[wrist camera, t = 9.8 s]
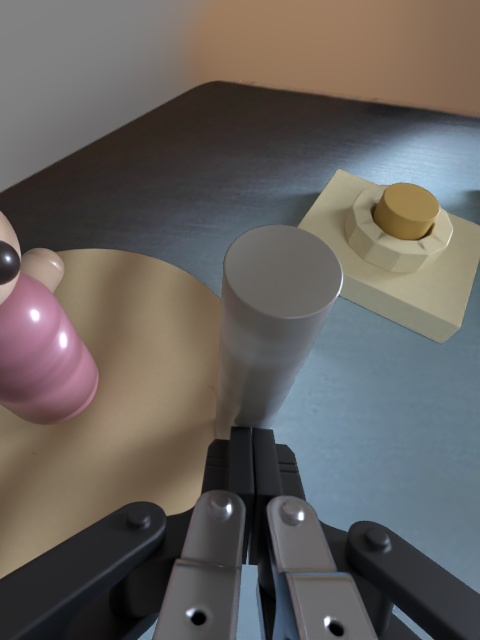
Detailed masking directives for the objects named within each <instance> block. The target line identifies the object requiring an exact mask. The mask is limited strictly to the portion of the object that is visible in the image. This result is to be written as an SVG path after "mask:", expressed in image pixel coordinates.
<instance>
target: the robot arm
mask: <svg viewBox="0 0 480 640" xmlns="http://www.w3.org/2000/svg"><path fill="white" fill-rule="evenodd" d="M247 550H248V556H249V565H258V579H257V587H256V597H257V605H258V614H259V622H260V631H261V639H262V640H422V639H420V638H419V637H418V636H417V635H416V634H415V633H414V632H413V631H412V630H411V629H409V628H408V627H407V626H406V625H405V624H404V623H403V622H402V621H401V620H399V619H398V618H397V617H396V616H395V615H394V614H393V613H392V610H393V606H394V604H395V605H396V606H397V607H398V608H399V609H400V610H402V611H403V612H404V613H405V614H406V615H407V616H408V617H409V618H411V619H412V620H413V621H414V622H415V623H416V624H417V625H419V626H420V627H421V628H422V629H423V630H424V631H425V632H426V633H428V634H429V635H430V636H431V637H432V638H433V639H434V640H480V594H478V593H477V592H476V591H474V590H473V589H472V588H470V587H469V586H467V585H466V584H465V583H463V582H462V581H460V580H459V579H458V578H456V577H455V576H454V575H452V574H451V573H449V572H448V571H447V570H445V569H444V568H442V567H441V566H440V565H438V564H437V563H436V562H434V561H433V560H431V559H430V558H429V557H427V556H426V555H424V554H423V553H422V552H420V551H419V550H418V549H416V548H415V547H413V546H412V545H411V544H409V543H408V542H406V541H405V540H404V539H402V538H401V537H400V536H398V535H397V534H395V533H394V532H393V531H391V530H390V529H388V528H387V527H385V526H383V525H381V524H378V523H375V522H371V521H359V522H356V523H354V524H353V525H351V527H350V528H349V531H348V532H346V531H343V530H340V529H337V528H334V527H331V526H329V525H327V524H325V523H323V522H321V521H320V520H319V519H318V516H317V514H316V512H315V510H314V508H313V507H312V506H311V505H310V504H309V503H307V502H306V499H305V494H304V490H303V486H302V482H301V478H300V474H299V470H298V466H297V462H296V458H295V454H294V453H293V452H292V451H291V449H290V448H289V447H288V446H287V445H282V444H275V440H274V434H273V430H272V429H261V428H253V429H252V434H251V428H249V427H238V426H231V430H230V440H225V439H214V441H213V442H212V443H211V444H210V445H209V446H208V450H207V457H206V463H205V470H204V476H203V483H202V489H201V495H200V497H199V498H198V499H197V501H196V503H195V505H194V506H193V507H192V508H191V509H189V510H187V511H185V512H182V513H179V514H174V515H168V516H166V514H165V512H164V510H163V509H162V508H161V507H160V506H158V505H157V504H155V503H152V502H147V501H138V502H132V503H129V504H126V505H124V506H122V507H121V508H119V509H117V510H116V511H114V512H112V513H110V514H109V515H107V516H105V517H104V518H102V519H100V520H99V521H97V522H95V523H94V524H92V525H90V526H89V527H87V528H85V529H84V530H82V531H80V532H78V533H77V534H75V535H73V536H72V537H70V538H68V539H67V540H65V541H63V542H62V543H60V544H58V545H57V546H55V547H53V548H51V549H50V550H48V551H46V552H45V553H43V554H41V555H40V556H38V557H36V558H35V559H33V560H31V561H30V562H28V563H26V564H24V565H23V566H21V567H19V568H18V569H16V570H14V571H13V572H11V573H9V574H8V575H6V576H4V577H3V578H1V579H0V640H137V639H138V638H139V637H140V636H141V635H142V634H143V633H144V632H146V631H147V630H148V629H149V628H150V627H151V626H152V625H153V624H154V622H155V621H156V620H157V618H158V616H159V618H158V621H157V624H156V628H155V631H154V635H153V638H152V640H236V633H237V621H238V608H239V596H240V583H241V570H242V564H246V558H247ZM159 613H160V614H159Z"/></svg>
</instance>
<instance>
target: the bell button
mask: <svg viewBox="0 0 480 640" xmlns="http://www.w3.org/2000/svg"><path fill="white" fill-rule="evenodd" d="M439 212H440V205H439V202H438V200H437V199H436V198H435V196H434V195H433V194H432V193H430V192H429V191H428V190H426V189H424V188H422V187H420V186H417V185H414V184H410V183H396V184H392V185H390V186H389V187H387V188H386V189H385V191H384V193H383V195H382V197H381V199H380V201H379V203H378V205H377V207H376V209H375V211H374V214H373V218H374V222H375V224H376V225H377V226H378V227H379V228H380V229H381V230H382V231H383V232H384V233H386V234H388V235H390V236H393V237H395V238H397V239H400V240H409V241H414V240H417V239H419V238H421V237H423V236H424V235H425V233H426V232H427V231H428V229H429V228H430V226H431V225H432V223H433V222H434V220H435V219H436V218H437V216H438V214H439Z"/></svg>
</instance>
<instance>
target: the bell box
mask: <svg viewBox="0 0 480 640" xmlns="http://www.w3.org/2000/svg"><path fill="white" fill-rule="evenodd" d="M389 186H390V185H378V184H375V183H373V182H370V181H368V180H365V179H363V178H360V177H358V176H355V175H353V174H350V173H348V172H345V171H343V170H340V169H337V171H336V172H335V173H334V175H333V176H332V178H331V179H330V181H329V182H328V183H327V185H326V186H325V188H324V189H323V191H322V192H321V193H320V195H319V196H318V198H317V199H316V201H315V202H314V204H313V205H312V206H311V208H310V209H309V211H308V212H307V214H306V215H305V216H304V218H303V219H302V221H301V222H300V224H299V225H298V226H297V228H300V229H303V230H306V231H308V232H310V233H312V234H314V235H316V236H317V237H319V238H320V239H322V240H323V241H324V242H325V243H326V244H327V245H329V247H330V248H331V249H332V250H333V251H334V253H335V254H336V256H337V257H338V259H339V261H340V264H341V267H342V273H343V284H342V288H341V291H340V294H339V296H341V297H343V298H345V299H348V300H350V301H352V302H354V303H356V304H358V305H360V306H362V307H364V308H366V309H369V310H371V311H373V312H375V313H377V314H379V315H381V316H383V317H385V318H387V319H389V320H392V321H394V322H396V323H398V324H400V325H402V326H404V327H406V328H408V329H410V330H413V331H415V332H417V333H419V334H421V335H423V336H425V337H427V338H429V339H431V340H433V341H436V342H438V343H440V344H443V343H444V342H445V341H446V340H447V339H448V338H449V337H451V336H452V335H453V334H454V333H455V332H456V331H458V330H459V329H460V328H461V325H462V322H463V318H464V314H465V311H466V307H467V303H468V300H469V296H470V293H471V289H472V285H473V282H474V278H475V274H476V271H477V267H478V263H479V260H480V225H478V224H475V223H473V222H470V221H468V220H465V219H463V218H460V217H458V216H455V215H453V214H450V213H448V212H446V211H445V210H444V209H443V208H441V207H440V212H439V214H438V216H437V218H436V219H435V220H434V222H433V223H432V225H431V226H430V228H429V229H428V231H427V232H426V233H425V235H424V236H423V237H421V238H419V239H417V240H414V241H409V240H400V239H397V238H395V237H393V236H390V235H388V234H386V233H384V232H383V231H382V230H381V229H380V228H379V227H378V226H377V225H376V224H375V222H374V218H373V214H374V211H375V209H376V207H377V205H378V203H379V201H380V199H381V197H382V195H383V193H384V191H385V189H386V188H387V187H389Z"/></svg>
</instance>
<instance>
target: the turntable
mask: <svg viewBox="0 0 480 640" xmlns="http://www.w3.org/2000/svg"><path fill="white" fill-rule="evenodd" d="M342 284H343V273H342V267H341V264H340V261H339V259H338V257H337V256H336V254H335V253H334V251H333V250H332V249H331V248H330V247H329V245H327V244H326V243H325V242H324V241H323V240H322V239H320V238H319V237H317V236H316V235H314V234H312V233H310V232H308V231H306V230H303V229H300V228H297V227H293V226H287V225H265V226H260V227H256V228H253V229H251V230H249V231H247V232H245V233H243V234H242V235H240V236H239V237H238V238H237V239H235V240H234V242H233V243H232V244H231V245H230V247H229V248H228V250H227V252H226V254H225V257H224V262H223V280H222V300H221V299H220V298H219V297H218V296H217V295H216V294H215V293H214V292H213V291H211V290H210V289H209V288H208V287H207V286H206V285H205V284H203V283H202V282H200V281H199V280H198V279H196V278H195V277H193V276H192V275H190V274H189V273H187V272H185V271H183V270H181V269H179V268H178V267H176V266H174V265H172V264H169V263H167V262H164V261H161V260H159V259H156V258H153V257H149V256H146V255H142V254H138V253H133V252H127V251H121V250H111V249H75V250H67V251H60V252H53V251H51V250H49V249H46V248H34V249H31V250H29V251H27V252H26V253H24V254H23V256H22V257H21V252H20V246H19V242H18V239H17V236H16V234H15V232H14V230H13V228H12V226H11V224H10V222H9V221H8V220H7V218H6V217H5V215H4V214H3V213H2V212H1V211H0V579H1V578H3V577H4V576H6V575H8V574H9V573H11V572H13V571H14V570H16V569H18V568H19V567H21V566H23V565H24V564H26V563H28V562H30V561H31V560H33V559H35V558H36V557H38V556H40V555H41V554H43V553H45V552H46V551H48V550H50V549H51V548H53V547H55V546H57V545H58V544H60V543H62V542H63V541H65V540H67V539H68V538H70V537H72V536H73V535H75V534H77V533H78V532H80V531H82V530H84V529H85V528H87V527H89V526H90V525H92V524H94V523H95V522H97V521H99V520H100V519H102V518H104V517H105V516H107V515H109V514H110V513H112V512H114V511H116V510H117V509H119V508H121V507H122V506H124V505H126V504H129V503H132V502H138V501H147V502H152V503H155V504H157V505H158V506H160V507H161V508H162V509H163V510H164V512H165V514H166V516H168V515H174V514H179V513H182V512H185V511H187V510H189V509H191V508H192V507H193V506H194V505H195V503H196V501H197V499H198V498H199V497H200V495H201V489H202V483H203V476H204V470H205V463H206V457H207V450H208V446H209V445H210V444H211V443H212V442H213V441H214V439H225V440H230V430H231V426H238V427H249V428H251V434H252V429H253V428H261V429H270V427H271V425H272V423H273V421H274V419H275V418H276V416H277V414H278V412H279V410H280V408H281V406H282V404H283V402H284V400H285V398H286V396H287V394H288V392H289V390H290V389H291V387H292V385H293V383H294V381H295V379H296V377H297V375H298V373H299V371H300V369H301V367H302V365H303V363H304V361H305V360H306V358H307V356H308V354H309V352H310V350H311V348H312V346H313V344H314V342H315V340H316V338H317V336H318V334H319V332H320V331H321V329H322V327H323V325H324V323H325V321H326V319H327V317H328V315H329V313H330V311H331V309H332V307H333V305H334V303H335V302H336V300H337V298H338V296H339V294H340V291H341V288H342Z"/></svg>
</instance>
